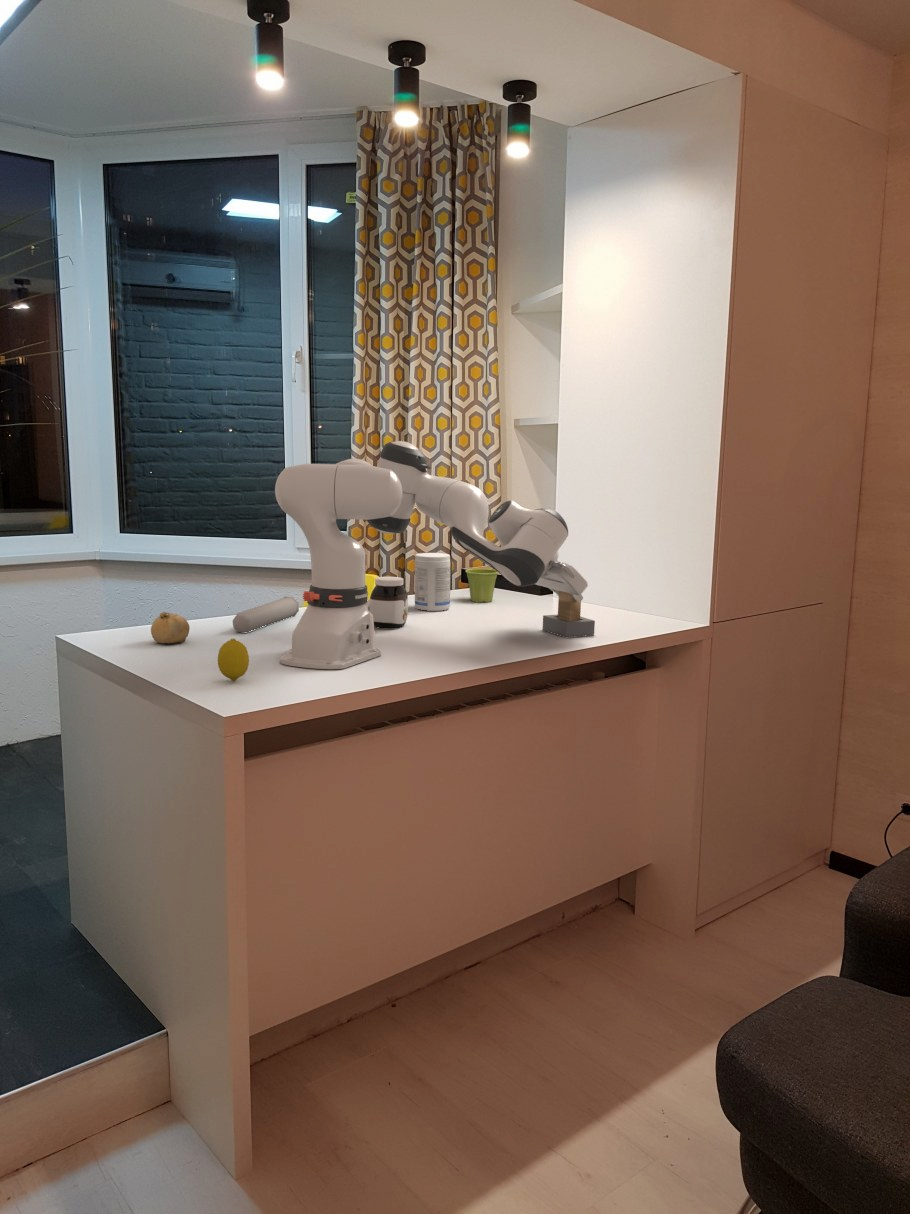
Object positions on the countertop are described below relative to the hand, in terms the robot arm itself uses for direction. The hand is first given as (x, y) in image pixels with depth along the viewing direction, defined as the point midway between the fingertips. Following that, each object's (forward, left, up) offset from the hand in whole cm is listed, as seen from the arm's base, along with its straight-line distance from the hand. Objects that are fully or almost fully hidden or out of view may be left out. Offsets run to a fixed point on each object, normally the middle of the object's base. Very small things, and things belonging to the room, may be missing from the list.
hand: (571, 598), depth 218 cm
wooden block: (0, 0, -5) cm, 5 cm away
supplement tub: (+17, +40, -9) cm, 45 cm away
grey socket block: (0, 0, -8) cm, 8 cm away
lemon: (-70, +50, -9) cm, 87 cm away
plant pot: (+35, +31, -9) cm, 48 cm away
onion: (-46, +79, -9) cm, 92 cm away
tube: (-20, +70, -9) cm, 74 cm away
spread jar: (-9, +44, -9) cm, 46 cm away
